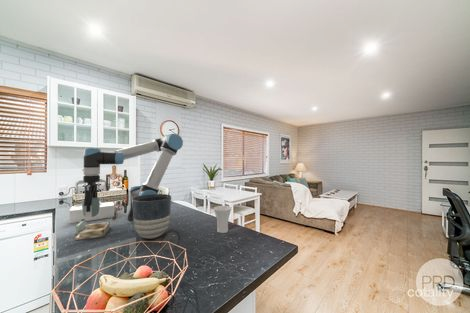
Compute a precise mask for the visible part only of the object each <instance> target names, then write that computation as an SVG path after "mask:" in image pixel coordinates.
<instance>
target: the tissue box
mask: <svg viewBox="0 0 470 313" xmlns="http://www.w3.org/2000/svg"><path fill="white" fill-rule="evenodd" d="M82 218H85V217H84V215H83V213H82V203H80V204H74V205H72V206H71V207H70V209H69V221H68V222H69V224H75V223H80V222H81V219H82ZM109 218H115V203H114V202H113V201H108V202H107V201H106V202H102V201H101V200H100V208H99V213H98V214H97V215H96V216H94V217H89V218H85V222H88V221H89V222H90V221H95V220H101V219H109Z"/></svg>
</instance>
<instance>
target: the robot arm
mask: <svg viewBox="0 0 470 313" xmlns="http://www.w3.org/2000/svg"><path fill="white" fill-rule="evenodd" d="M183 146H184V140H183V138H182V137H181V136H180V134H178V133H169V134H167V135H162V136H161V137H158V138H155V139H152V141H149V142H145V143H140V144H136V145H132V146H128V147H123V148H121V149H115V150H113V151H101V148H99V147H85V148H84V150H83V169H82V171H83V176H82V177H83V183H87V184H86V186H84V199H85V200H84V206H86V214H85V218H89V217H92V205H91V204H92V198H95V197H96V198H99V197H98V196H99V195H98V182H100V181H101V176H100V175H101V165H122V164H124V161H125V160H128V159H132V158H136V157H139V156H143V155H147V154H150V153H153V152H157V153H159V152H160V153H159V154H158V157H157V159H156V160H155V162H154V165H153V167H152V168H151V171H150V172H149V175H148V177H147V179H146V181H145V182H143V183H141V185H136V186H135V185H134V186H131V187H130V190H129V191H130V193H129V195H130V197H129V198H130V200H129V202H130V204H129V206H130V208H129V211H128V214H127V221H129V222H130V221H131V222H134V221H133V205H132V199H133V198H135V197H138V196H143V195H151V194H159V191H160V188H159V187H160V184H161V181H162V180H163V178H164V175H165V173H166V171H167V170H168V167H169V165H170V162H171V161H172V159H173V157H175V156H176V155H177V153H178V151H179V150H181V149H182V148H183Z"/></svg>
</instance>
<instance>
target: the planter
mask: <svg viewBox="0 0 470 313" xmlns="http://www.w3.org/2000/svg"><path fill="white" fill-rule="evenodd" d="M132 205H133V221H132V222H133V227H134V230H135V232H136V233H137V235H138V236H139V237H141V238H142V239H147V240H149V239H150V240H152V239H156V238H159V237H160V236H162V235H163V234H164V233H165V232H166V231H167V229H168V228H169V226H170V222H171V208H172V195H170V194H168V193H166V194H164V193H158V194H151V195H143V196H138V197H135V198H133V199H132Z"/></svg>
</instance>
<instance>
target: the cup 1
mask: <svg viewBox="0 0 470 313" xmlns="http://www.w3.org/2000/svg"><path fill="white" fill-rule="evenodd" d="M84 200H85V198H83V199H82V200H81V204H82V213H83V215H84V217H85V214H86V206H84ZM100 201H101V200H100V197H98V198H96V197H95V198H92V204H91V205H92V217H94V216H96V215H97V214H98V213H99V208H100Z"/></svg>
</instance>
